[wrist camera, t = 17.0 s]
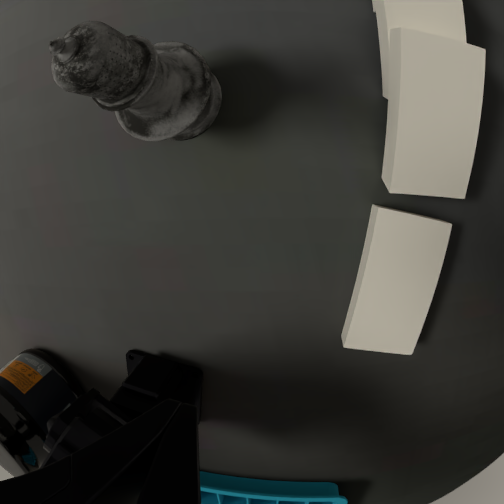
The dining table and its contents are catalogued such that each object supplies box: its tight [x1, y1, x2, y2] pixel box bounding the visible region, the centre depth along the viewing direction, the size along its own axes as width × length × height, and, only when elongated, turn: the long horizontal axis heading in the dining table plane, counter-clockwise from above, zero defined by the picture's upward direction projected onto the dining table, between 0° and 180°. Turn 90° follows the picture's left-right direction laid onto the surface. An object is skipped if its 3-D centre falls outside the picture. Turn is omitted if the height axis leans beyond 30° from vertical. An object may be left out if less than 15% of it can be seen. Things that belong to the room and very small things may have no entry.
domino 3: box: [341, 204, 452, 355], centre depth 18 cm, size 2×5×9 cm
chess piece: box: [49, 21, 222, 141], centre depth 12 cm, size 6×6×12 cm
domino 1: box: [374, 0, 467, 99], centre depth 12 cm, size 2×5×9 cm
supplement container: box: [0, 349, 84, 477], centre depth 21 cm, size 10×10×12 cm
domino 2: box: [382, 27, 486, 199], centre depth 13 cm, size 2×5×9 cm
